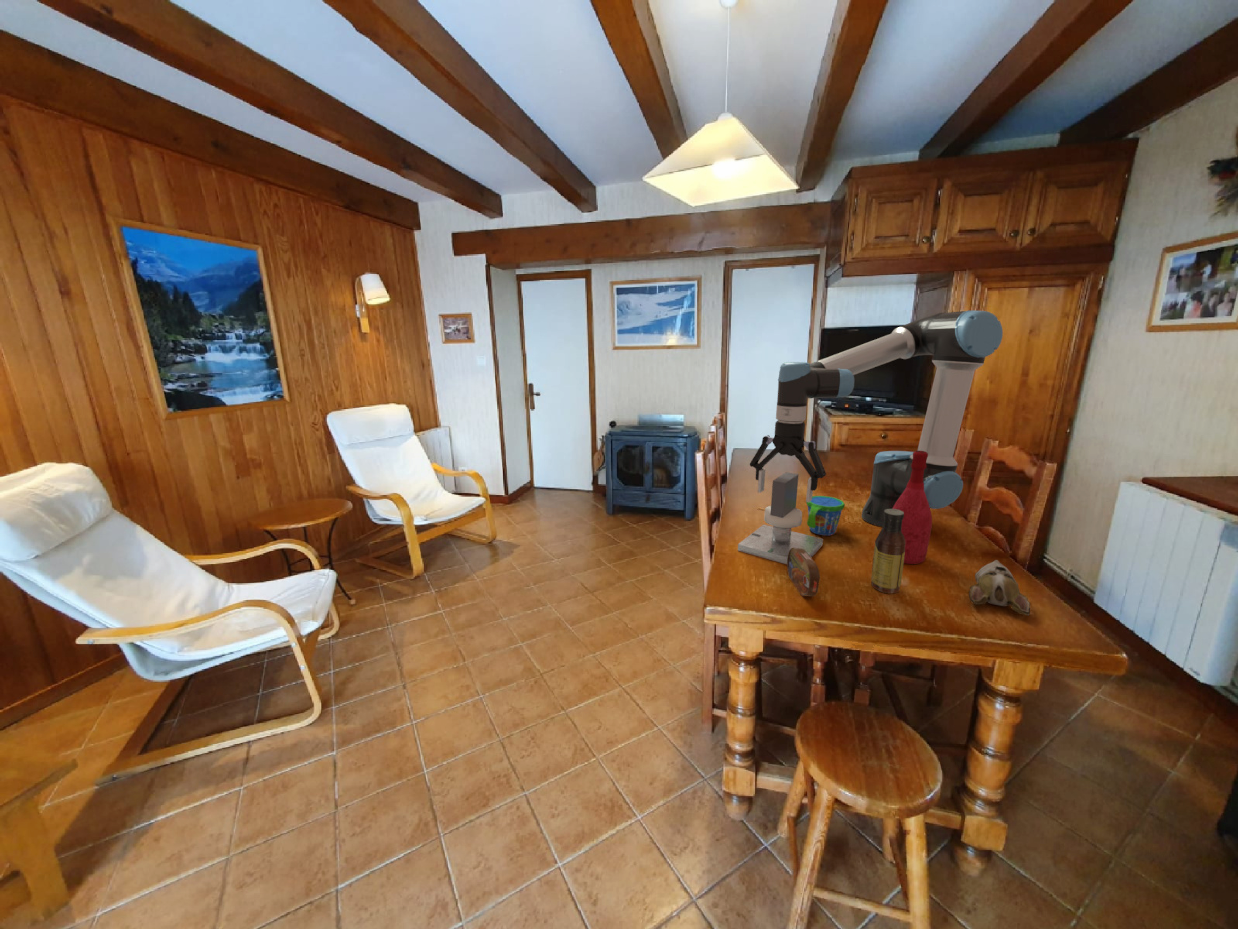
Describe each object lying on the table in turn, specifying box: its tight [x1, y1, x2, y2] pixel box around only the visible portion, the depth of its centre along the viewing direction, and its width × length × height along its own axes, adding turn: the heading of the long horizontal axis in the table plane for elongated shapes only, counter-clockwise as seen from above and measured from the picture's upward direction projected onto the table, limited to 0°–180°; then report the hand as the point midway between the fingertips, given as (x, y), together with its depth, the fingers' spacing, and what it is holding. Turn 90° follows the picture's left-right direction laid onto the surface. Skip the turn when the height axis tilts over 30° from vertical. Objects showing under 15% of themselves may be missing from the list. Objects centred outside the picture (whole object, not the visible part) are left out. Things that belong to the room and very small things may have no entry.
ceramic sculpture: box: [968, 559, 1031, 616], centre depth 105 cm, size 11×9×15 cm
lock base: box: [737, 524, 824, 565], centre depth 134 cm, size 18×18×8 cm
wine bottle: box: [892, 450, 933, 565], centre depth 123 cm, size 10×10×30 cm
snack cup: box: [805, 495, 846, 537], centre depth 144 cm, size 16×10×10 cm
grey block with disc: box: [756, 471, 803, 529], centre depth 131 cm, size 12×10×13 cm
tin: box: [786, 548, 821, 597], centre depth 113 cm, size 15×3×8 cm, turn 178°
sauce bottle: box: [870, 509, 906, 594], centre depth 110 cm, size 7×6×20 cm
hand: (784, 496), depth 130 cm, fingers open, 13 cm apart
